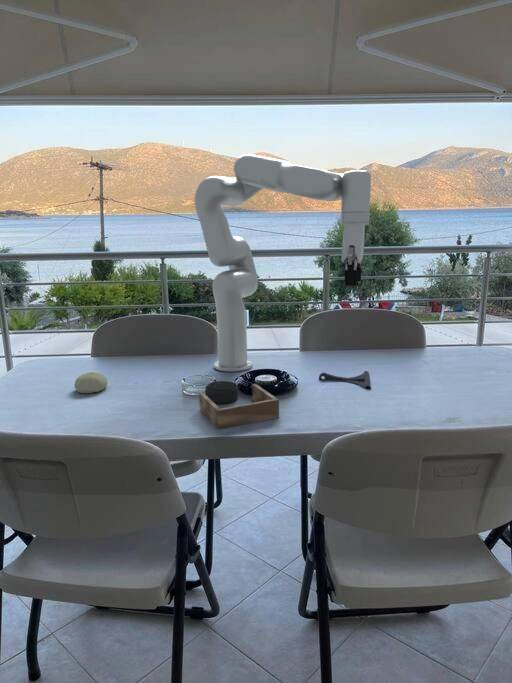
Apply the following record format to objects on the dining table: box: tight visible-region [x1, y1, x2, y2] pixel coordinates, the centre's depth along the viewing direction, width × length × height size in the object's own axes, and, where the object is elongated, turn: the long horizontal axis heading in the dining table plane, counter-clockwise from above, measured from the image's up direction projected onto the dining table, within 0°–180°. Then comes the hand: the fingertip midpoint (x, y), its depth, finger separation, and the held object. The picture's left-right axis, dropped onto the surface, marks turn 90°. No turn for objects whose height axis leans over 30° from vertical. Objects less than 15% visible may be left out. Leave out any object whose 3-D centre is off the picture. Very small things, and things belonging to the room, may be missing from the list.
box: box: [198, 383, 280, 430], centre depth 119 cm, size 14×16×4 cm
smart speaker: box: [204, 380, 239, 405], centre depth 130 cm, size 9×9×4 cm
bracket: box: [318, 370, 372, 390], centre depth 143 cm, size 14×15×3 cm
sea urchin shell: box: [73, 371, 109, 394], centre depth 140 cm, size 9×8×8 cm
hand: (352, 283), depth 134 cm, fingers open, 9 cm apart
